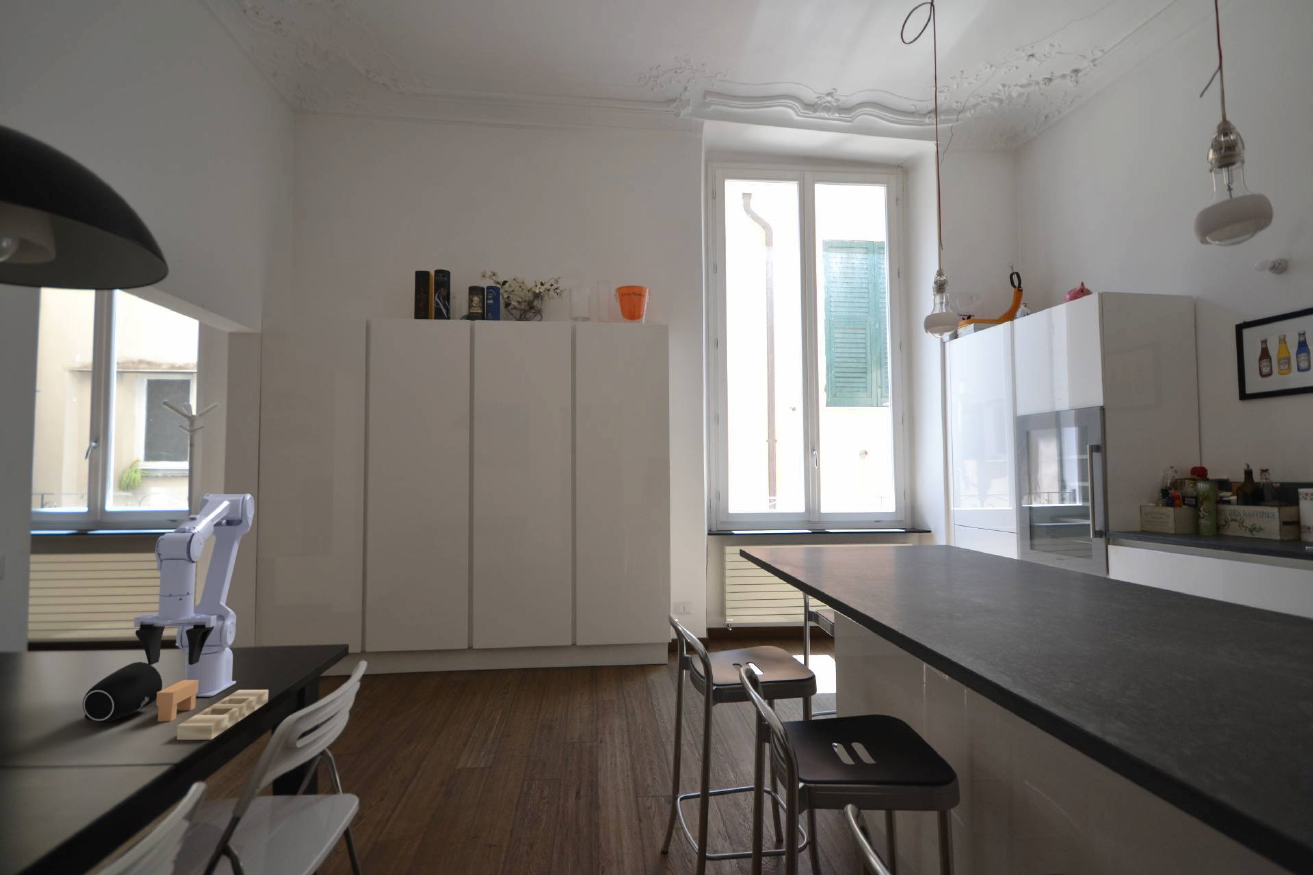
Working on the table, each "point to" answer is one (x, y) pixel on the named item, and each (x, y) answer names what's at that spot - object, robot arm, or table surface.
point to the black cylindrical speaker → (122, 692)
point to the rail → (222, 715)
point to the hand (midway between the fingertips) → (173, 663)
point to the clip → (176, 699)
